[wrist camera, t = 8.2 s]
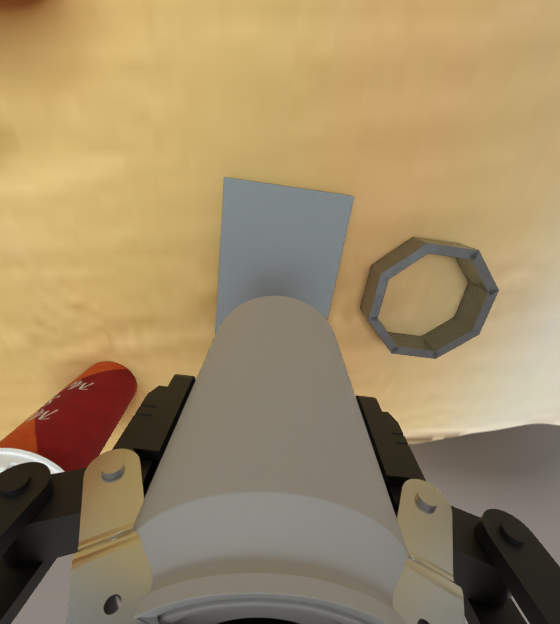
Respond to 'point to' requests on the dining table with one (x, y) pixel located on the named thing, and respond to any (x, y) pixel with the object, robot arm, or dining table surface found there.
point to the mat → (279, 244)
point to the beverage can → (271, 485)
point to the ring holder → (454, 330)
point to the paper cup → (72, 421)
